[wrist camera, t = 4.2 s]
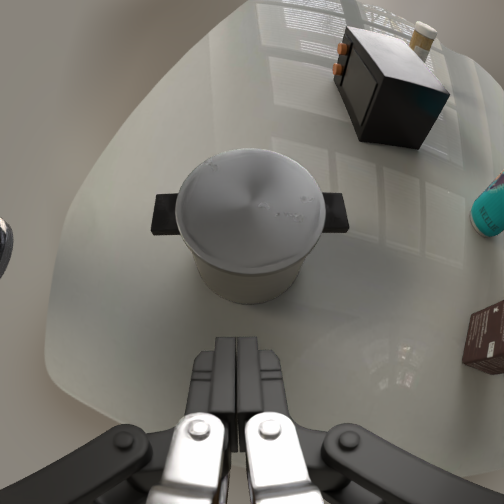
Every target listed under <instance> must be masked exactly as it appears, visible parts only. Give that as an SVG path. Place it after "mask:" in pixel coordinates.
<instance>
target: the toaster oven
mask: <svg viewBox="0 0 504 504" xmlns="http://www.w3.org/2000/svg"><path fill="white" fill-rule="evenodd" d="M337 51H338V54H339V58H338V62H337V64H336V63H335V64H334V65H333V74H334V82H335V84H336V86H337V88H338V91H339V93H340V95H341V97H342V100H343V102H344V104H345V107H346V109H347V111H348V114H349V116H350V119H351V121H352V124H353V126H354V129H355V132H356V134H357V137H358V139H359V141H360V142H369V143H377V144H385V145H392V146H399V147H405V148H411V149H417V150H419V148H420V147H421V145H422V143H423V142H424V140H425V138H426V137H427V135H428V133H429V132H430V130H431V128H432V126H433V125H434V123H435V121H436V120H437V118H438V116H439V114H440V113H441V111H442V109H443V107H444V105H445V104H446V102H447V100H448V98H449V96H450V94H449V92H448V91H447V90H446V89H445V87H444V86H443V85H442V84H441V82H440V81H439V80H438V79H437V77H436V76H435V75H434V74H433V73H432V71H431V70H430V69H429V68H428V67H427V66H426V65H425V63H424V62H423V61H422V60H421V59H420V58H419V57H418V56H417V55H416V54H415V52H414V51H413V50H412V49H411V48H410V47H409V46H408V45H407V44H406V43H405V42H404V41H403V40H401V39H398V38H394V37H391V36H387V35H383V34H380V33H376V32H372V31H367V30H363V29H358V28H354V27H349V26H346V29H345V34H344V37H343V41H342V43H339V44H338V48H337Z"/></svg>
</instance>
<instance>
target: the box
mask: <svg viewBox="0 0 504 504" xmlns="http://www.w3.org/2000/svg"><path fill="white" fill-rule="evenodd" d="M462 363H463V364H465V365H467V366H470V367H473V368H475V369H478V370H480V371H483V372H486V373H488V374H491V375H494V374H501V373H504V300H502V301H500V302H498V303H496V304H494V305H491V306H489V307H487V308H485V309H483V310H480V311H478V312H476V313H473V314H472V315H471V318H470V323H469V329H468V334H467V339H466V344H465V349H464V355H463V358H462Z"/></svg>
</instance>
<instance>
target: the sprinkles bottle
mask: <svg viewBox="0 0 504 504" xmlns="http://www.w3.org/2000/svg"><path fill="white" fill-rule="evenodd" d="M436 35H437V31H436V30H435V29H434V28H432V27H430V26H429V25H426V24H424V23H422V22H416V24H415V27H414V33H413V35H412V38H411V41H410V43H409V47H410V48H411V49H412V50H413V51H414V52H415V54H416V55H417V56H418V57H419V58H420V59H421V60H422V61H423V62H424V63H425V61H426V58H427V56H428V54H429V51H430V48H431V45H432V43H433V41H434V39H435V38H436Z"/></svg>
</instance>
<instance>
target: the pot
mask: <svg viewBox="0 0 504 504" xmlns="http://www.w3.org/2000/svg"><path fill="white" fill-rule="evenodd" d="M348 230H349V223H348V219H347V214H346V209H345V205H344V200H343V196H342V193H325V192H321V189H320V187H319V185H318V184H317V182H316V181H315V179H314V178H313V177H312V175H311V174H310V173H309V172H308V171H307V170H306V169H305V168H304V167H302V166H301V165H300V164H298V163H297V162H295V161H294V160H292V159H290V158H288V157H286V156H284V155H282V154H279V153H276V152H273V151H269V150H263V149H253V148H246V149H236V150H230V151H226V152H223V153H220V154H218V155H215V156H213V157H211V158H209V159H207V160H206V161H204V162H203V163H201V164H200V165H199V166H197V167H196V168H195V169H194V170H193V171H192V172H191V173H190V174H189V175H188V177H187V178H186V179H185V181H184V182H183V184H182V186H181V188H180V191H179V193H175V194H157V195H156V200H155V206H154V212H153V218H152V225H151V232H152V234H153V235H181V236H182V238H183V241H184V242H185V244H186V245H187V247H188V248H189V249H190V250H191V252H192V254H193V257H194V260H195V262H196V265H197V268H198V270H199V273H200V275H201V277H202V279H203V280H204V282H205V283H206V284H207V286H208V287H209V288H210V289H211V290H212V291H214V292H215V293H216V294H217V295H219V296H221V297H222V298H224V299H227V300H229V301H232V302H235V303H241V304H258V303H262V302H266V301H269V300H272V299H274V298H275V297H277V296H279V295H280V294H282V293H283V292H284V291H286V290H287V289H288V288H289V287H290V285H291V284H292V283H293V281H294V280H295V278H296V276H297V274H298V272H299V270H300V268H301V266H302V264H303V262H304V260H305V258H306V256H307V255H308V254H309V253H310V252H311V251H312V249H313V248H314V247H315V245H316V244H317V242H318V240H319V238H320V236H321V234H322V233H346V232H347V231H348Z"/></svg>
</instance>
